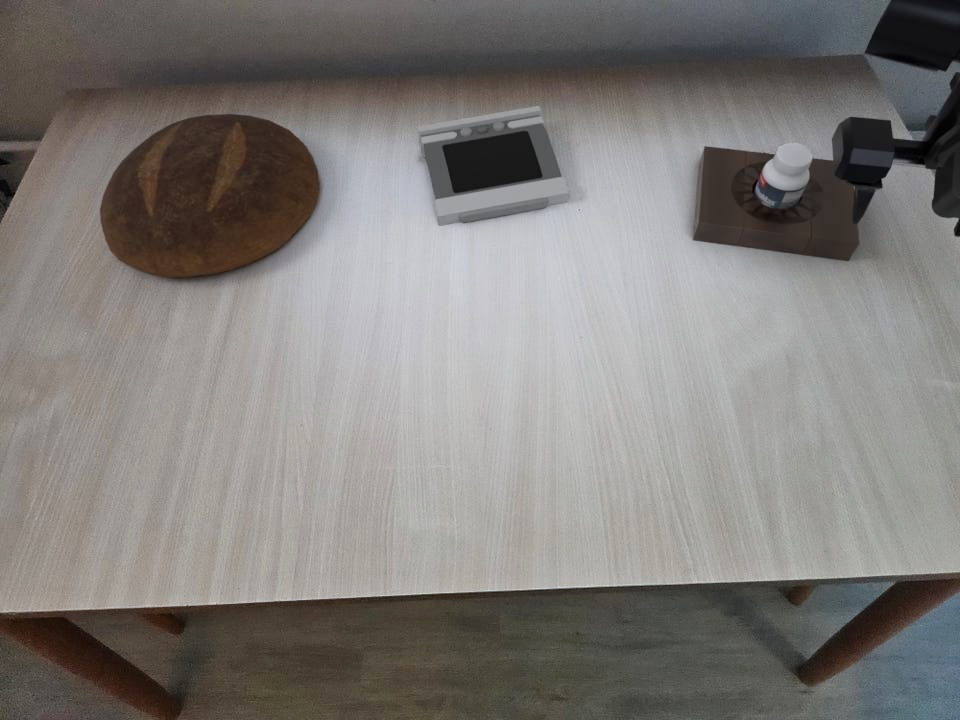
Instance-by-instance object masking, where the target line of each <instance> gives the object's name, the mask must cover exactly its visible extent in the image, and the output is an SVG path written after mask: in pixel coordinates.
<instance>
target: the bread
mask: <svg viewBox="0 0 960 720" xmlns="http://www.w3.org/2000/svg"><path fill="white" fill-rule="evenodd" d="M320 185H321V183H320V176H319V169H318V168H317V165H316V162H315V160H314V157H313V155H312V154H311V152H310V150H309V149H308V147H307V146H306V144H305V143H304V142H303V141H302V140H301V139H300V138H299V137H298V136H296V135H295V133H293V132H292V131H291V130H290V129H288V128H286V127H284V126H282V125H280V124H278V123H276V122H274V121H271V120H270V119H267V118H262V117H257V116H255V115H254V116H253V115H247V114H235V113H223V114H221V113H219V114H205V115H198V116H192V117H187V118H184V119H181V120H179V121H175V122H173V123H171V124H168V125H166V126H165V127H163V128H161V129H159V130H158V131H156V132H154V133H152V134H151V135H150V136H149V137H147V138H146V139H145V140H143V141H142V142H141V143H140V144H138V145H137V146H136V147H134V148H133V149H132V150H131V151H130V152H129V153H128V154H127V155H126V156H125V157H124V158H123V159H122V160H121V161H120V162H119V164H118V166H116V169H115V170H114V172H113V173H112V175H111V176H110V179H109V181H108V182H107V184H106V188H105V190H104V192H103V195H102V198H101V203H100V207H99V219H100V224H101V228H102V233H103V235H104V239H105V242H106V244H107V246H108V248H109V250H110V252H111V253H112V254H113V255H114V257H115V258H116V259H117V260H118V261H119V262H121V263H122V264H124V265H127V266H129V267H130V268H132V269H134V270H136V271H139V272H142V273H145V274H148V275H153V276H156V277H166V278H187V277H196V276H197V277H198V276H206V275H214V274H219V273H224V272H228V271H232V270H234V269H237V268H240V267H243V266H246V265H249V264H250V263H253V262H256V261H257V260H260V259H262V258H264V257H266V256H267V255H270V254H272V253H273V252H275V251H277V250H278V249H279V248H280V247H282V246H283V245H284V244H285V243H287V242H288V241H289V240H290V239H291V238H293V236H294V235H295V234H296V233H297V232H298V231H299V230H300V228H301V227H302V226H303V225H304V224H305V223H306V221H307V220H308V219H309V218H310V216H311V214H312V213H313V211H314V210H315V208H316V205H317V202H318V199H319V194H320V187H321V186H320Z"/></svg>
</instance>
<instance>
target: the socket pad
mask: <svg viewBox="0 0 960 720" xmlns="http://www.w3.org/2000/svg"><path fill="white" fill-rule="evenodd" d="M775 154H776V153H769V152H760V151H759V152H758V151H750V150H741V149H733V148H726V147H725V148H723V147H717V146H716V147H715V146H706V145H705V146H704V147H703V150H702V153H701V156H700V160H699V162H698V173H697V184H696V197H695V198H696V199H695V208H694V209H695V210H694V221H693V233H692V241H696V242H704V243H712V244H718V245H724V246H732V247H743V248H749V249H755V250H764V251H773V252H779V253H780V252H781V253H787V254H795V255H800V256H801V255H802V256H808V257H814V258H823V259H830V260H837V261H845V262H849V261H850V260H851V258H852V256H853V254H854V253H855V252H856V250H857V249H858V247H859V245H860V234H859V225H858V224H859V223H858V224H853V221H852V214H853V202H854V190H855V186H850V185H848V184H847V183H846V181H845V180H840V179H839V178H838V177H836V176H835V175H834V167H833V159H825V158H814V157H813V159H812V162H811V164H810V167H809V168H808V170H809V174H810V177H809V180H808V183H807V185H806V187H805V189H804V191H803V193H802V196H801V197H800V199H799V202H798V203H797V205H796V206H794V207H792V208H788V209H775V208H771V207H768V206H766V205H763V204H762V203H761V202H759V201H758V200H757V199H756V198H755V196H754V195H753V193H754V190H755V188H756V185H757V183H758V180H759V177H760V175H761V172H762V170H763V168H764V166H765V164H766V163H767V162H768V161H770V160H771V159H773V158H774V156H775Z"/></svg>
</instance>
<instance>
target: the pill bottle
mask: <svg viewBox="0 0 960 720" xmlns="http://www.w3.org/2000/svg"><path fill="white" fill-rule="evenodd" d="M774 154H775V156H774V158H773V159H771V160H770V161H768V162H767V163H766V164H765V166H764V168H763V170H762V172H761V175H760V177H759V180H758V183H757V185H756V188H755V190H754V193H753V195H754V196H755V198H756V199H757V200H758V201H759V202H761V203H762V204H763V205H766V206H768V207H771V208H775V209H788V208H792V207H794V206H796V205H797V203H798V202H799V199H800V197H801V196H802V193H803V191H804V189H805V187H806V185H807V183H808V180H809V177H810V174H809V170H808V168H809V167H810V164H811V162H812V159H813V158H814V155H813V152H812V151H811V149H810V148H809V147H807V146H805V145H804V144H801V143H796V142H795V143H794V142H787V143H784V144H782V145H780V146H779V147H778V148H777V149H776V152H775V153H774Z"/></svg>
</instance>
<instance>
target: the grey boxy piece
mask: <svg viewBox="0 0 960 720" xmlns="http://www.w3.org/2000/svg"><path fill="white" fill-rule="evenodd" d="M417 134H418V138H419V145H420V150H421V153H422V154H423V158H424V159H425V160H426V164H427V169H428V173H429V178H430V182H431V187H432V190H433V195H434V199H433V202H434V204H433V205H434V209H435V215H436V219H437V223H438V226H444V225H448V224H449V225H450V224H455V223H460V222H461V223H469V222H476V221H480V220H486V219H492V218H497V217H503V216H508V215H513V214H520V213H525V212H530V211H537V210H542V209H545V208H547V206H552V205H553V206H554V205H557V204H558V205H559V204H564V203H568V202H569V199H570V194H571V192H570V189H569V186H568V183H567V178H566V176H565V175H563V176H562V173H561V169H560V167H559V163H558V160H557V157H556V153H555V151H554V148H553V145H552V143H551V140H550V138H549V135H548V132H547V130H546V128H545V121H544V119H543V117H542V109H541V107H540V105H536V106H529V107H523V108H519V109H511V110H506V111H500V112H494V113H489V114H484V115H478V116H472V117H471V116H470V117H466V118H460V119H454V120H448V121H443V122H442V121H441V122H437V123H430V124H426V125H419V126H417Z"/></svg>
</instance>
